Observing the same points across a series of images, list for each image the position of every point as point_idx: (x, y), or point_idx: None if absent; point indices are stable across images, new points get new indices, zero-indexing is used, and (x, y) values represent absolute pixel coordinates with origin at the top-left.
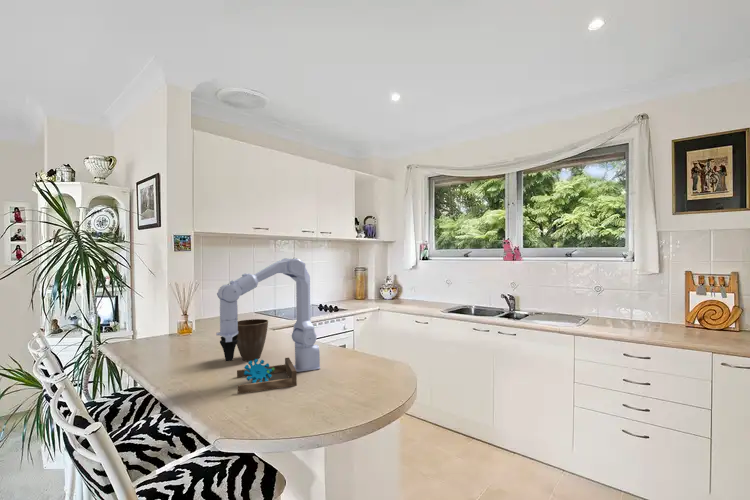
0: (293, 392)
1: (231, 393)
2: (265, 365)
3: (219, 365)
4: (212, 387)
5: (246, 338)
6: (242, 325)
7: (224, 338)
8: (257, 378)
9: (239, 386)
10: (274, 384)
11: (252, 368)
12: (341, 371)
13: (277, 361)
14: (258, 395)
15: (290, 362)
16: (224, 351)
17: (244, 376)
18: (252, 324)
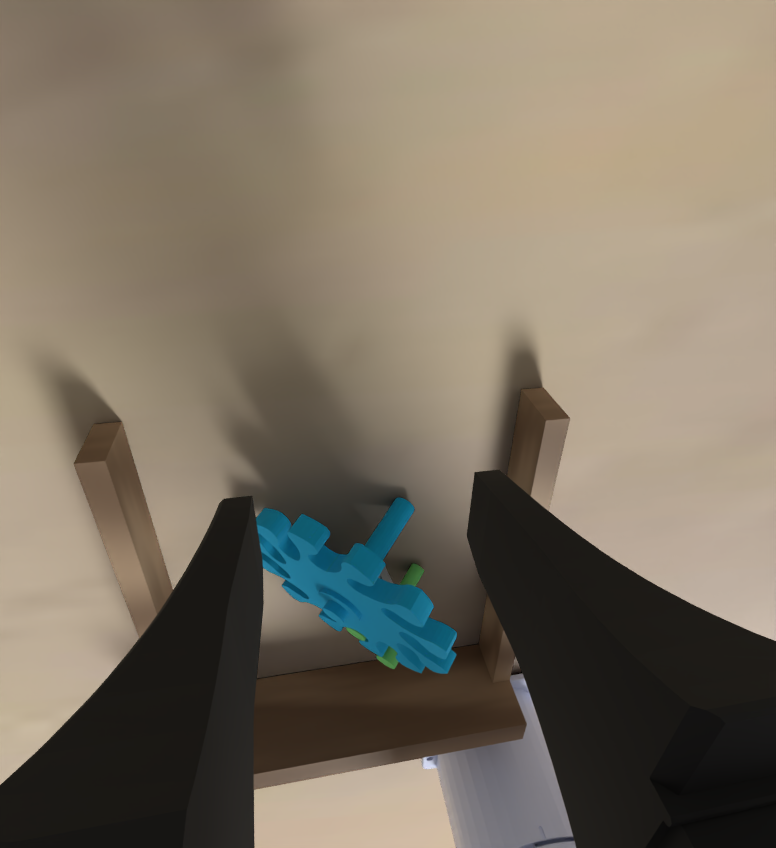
0: (63, 702)
1: (121, 376)
2: (398, 653)
3: None
4: (354, 191)
5: None
6: None
7: (656, 755)
8: (282, 566)
9: (80, 474)
10: None
11: (347, 590)
12: (344, 819)
13: (714, 594)
14: (34, 553)
15: (393, 759)
16: (152, 632)
17: (513, 441)
18: None
